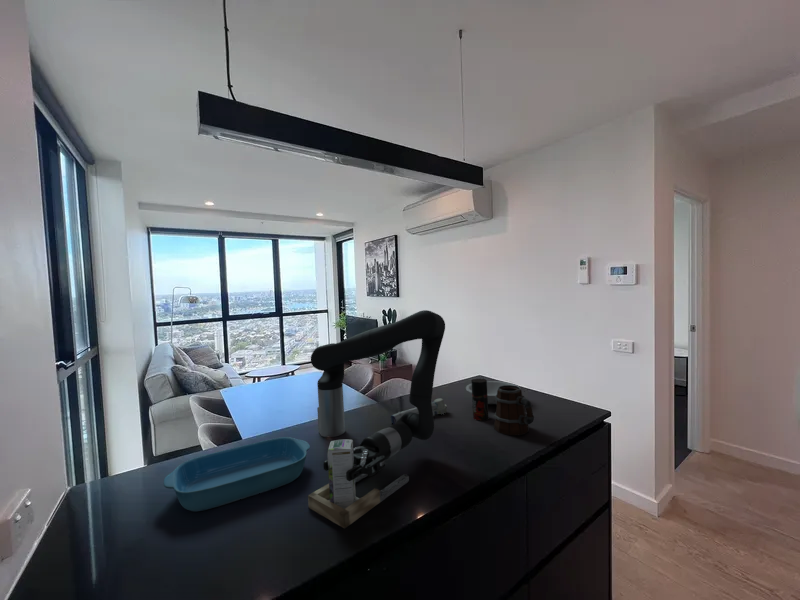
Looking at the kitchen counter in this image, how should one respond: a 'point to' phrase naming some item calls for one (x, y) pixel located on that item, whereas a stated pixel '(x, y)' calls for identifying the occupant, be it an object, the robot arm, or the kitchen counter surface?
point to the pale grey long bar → (437, 407)
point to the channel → (391, 487)
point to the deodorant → (480, 399)
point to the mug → (512, 411)
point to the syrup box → (341, 472)
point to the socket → (337, 514)
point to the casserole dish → (237, 472)
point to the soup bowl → (491, 389)
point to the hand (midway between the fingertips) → (335, 471)
